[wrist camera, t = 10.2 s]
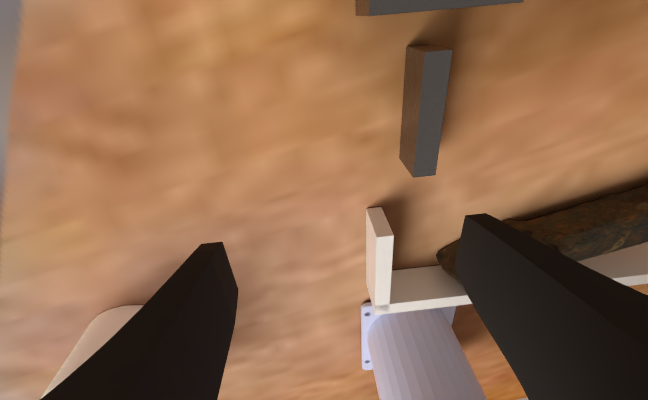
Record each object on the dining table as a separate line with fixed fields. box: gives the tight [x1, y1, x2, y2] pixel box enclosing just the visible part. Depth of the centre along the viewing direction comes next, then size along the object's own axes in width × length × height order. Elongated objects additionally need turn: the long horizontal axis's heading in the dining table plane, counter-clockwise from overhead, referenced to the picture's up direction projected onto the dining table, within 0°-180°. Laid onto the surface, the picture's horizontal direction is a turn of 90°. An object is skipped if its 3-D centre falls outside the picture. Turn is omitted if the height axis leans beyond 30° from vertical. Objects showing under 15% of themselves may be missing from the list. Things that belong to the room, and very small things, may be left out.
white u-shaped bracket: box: [366, 207, 648, 315], centre depth 21 cm, size 7×28×3 cm, turn 94°
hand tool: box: [436, 185, 648, 284], centre depth 20 cm, size 19×4×5 cm, turn 106°
